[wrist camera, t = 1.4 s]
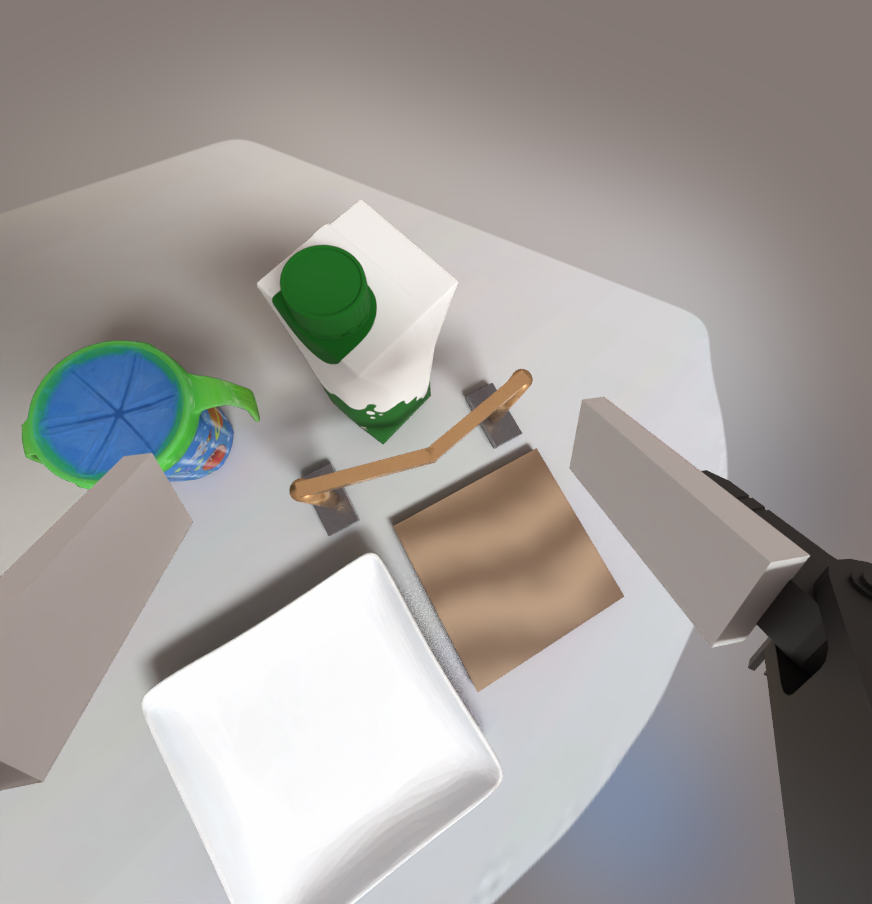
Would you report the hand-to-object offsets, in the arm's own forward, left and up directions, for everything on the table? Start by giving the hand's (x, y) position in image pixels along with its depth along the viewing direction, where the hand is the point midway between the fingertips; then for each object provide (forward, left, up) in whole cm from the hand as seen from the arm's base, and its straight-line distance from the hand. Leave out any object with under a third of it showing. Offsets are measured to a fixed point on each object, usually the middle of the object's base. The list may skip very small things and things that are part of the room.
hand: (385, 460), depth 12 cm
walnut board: (+10, +6, -24) cm, 26 cm away
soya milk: (-10, +3, -24) cm, 26 cm away
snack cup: (-14, -15, -24) cm, 32 cm away
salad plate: (+14, -14, -24) cm, 31 cm away
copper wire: (-3, +3, -24) cm, 24 cm away
